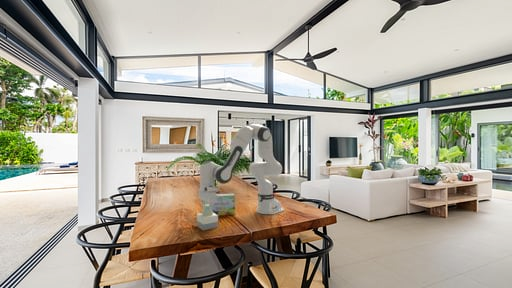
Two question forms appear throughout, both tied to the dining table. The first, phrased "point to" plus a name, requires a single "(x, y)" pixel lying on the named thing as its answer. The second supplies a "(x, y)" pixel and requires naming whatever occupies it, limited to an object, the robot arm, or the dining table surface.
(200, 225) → the grey slab
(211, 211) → the sage block
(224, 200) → the snack box
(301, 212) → the dining table surface
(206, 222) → the cream slab
